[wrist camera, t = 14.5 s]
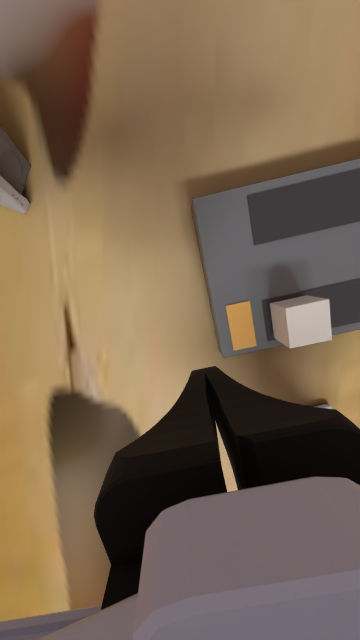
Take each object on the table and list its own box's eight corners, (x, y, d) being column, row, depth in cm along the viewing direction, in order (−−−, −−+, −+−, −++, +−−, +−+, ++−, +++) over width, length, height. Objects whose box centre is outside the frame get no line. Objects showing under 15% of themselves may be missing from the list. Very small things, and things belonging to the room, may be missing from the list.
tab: (310, 330, 18) (332, 339, 15) (274, 338, 18) (290, 348, 15) (306, 295, 17) (329, 298, 15) (269, 303, 17) (285, 308, 15)
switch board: (475, 296, 20) (510, 298, 17) (218, 349, 21) (223, 358, 18) (487, 136, 17) (530, 116, 15) (191, 206, 18) (192, 198, 16)
